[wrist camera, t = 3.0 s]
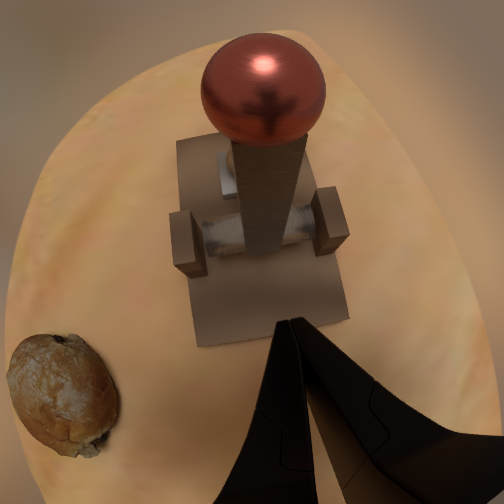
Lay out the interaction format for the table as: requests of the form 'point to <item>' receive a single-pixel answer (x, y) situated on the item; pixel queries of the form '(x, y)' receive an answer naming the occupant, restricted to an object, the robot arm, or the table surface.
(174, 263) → the base
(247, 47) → the lever
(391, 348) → the table surface
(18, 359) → the bread roll
